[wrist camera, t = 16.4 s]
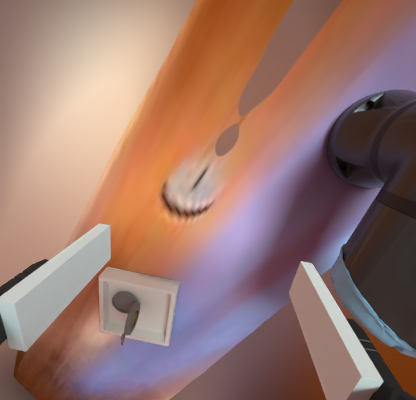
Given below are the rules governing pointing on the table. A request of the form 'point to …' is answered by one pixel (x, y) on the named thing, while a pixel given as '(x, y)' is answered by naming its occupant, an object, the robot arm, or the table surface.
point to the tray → (149, 304)
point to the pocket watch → (127, 310)
